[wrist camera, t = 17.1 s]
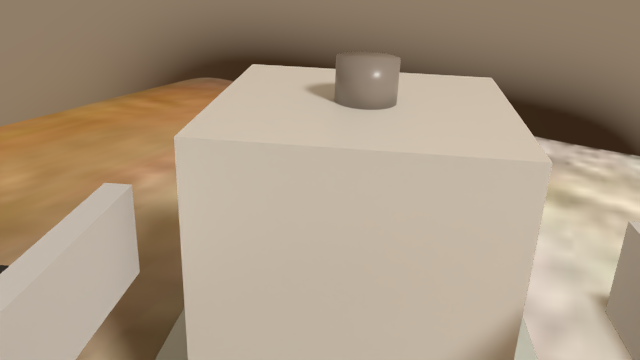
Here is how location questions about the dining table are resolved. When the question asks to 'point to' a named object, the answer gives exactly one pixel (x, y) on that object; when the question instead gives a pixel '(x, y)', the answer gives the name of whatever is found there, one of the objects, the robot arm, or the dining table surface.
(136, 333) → the dining table surface
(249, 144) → the cover
